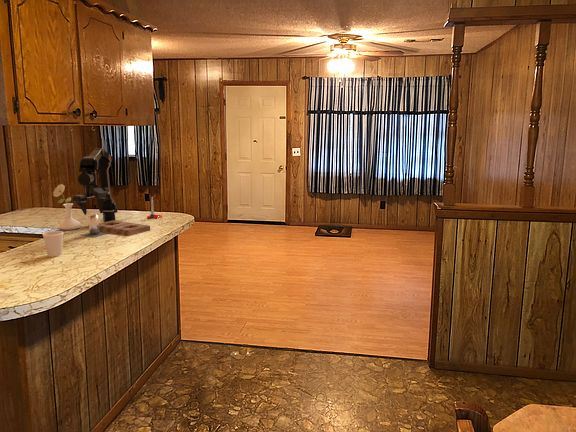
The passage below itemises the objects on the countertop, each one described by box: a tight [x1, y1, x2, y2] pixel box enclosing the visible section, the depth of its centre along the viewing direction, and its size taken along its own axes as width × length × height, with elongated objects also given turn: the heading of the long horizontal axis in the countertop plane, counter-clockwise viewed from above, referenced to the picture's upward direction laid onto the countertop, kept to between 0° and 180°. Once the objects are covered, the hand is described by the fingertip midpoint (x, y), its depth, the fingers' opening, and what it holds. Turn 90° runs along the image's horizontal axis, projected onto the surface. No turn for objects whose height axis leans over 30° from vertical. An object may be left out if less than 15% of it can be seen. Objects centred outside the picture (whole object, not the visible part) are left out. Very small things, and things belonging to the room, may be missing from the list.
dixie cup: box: [41, 230, 64, 258], centre depth 211 cm, size 8×8×10 cm
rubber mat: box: [79, 231, 111, 239], centre depth 249 cm, size 11×11×1 cm
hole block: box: [99, 219, 151, 237], centre depth 259 cm, size 28×14×3 cm, turn 61°
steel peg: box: [87, 213, 101, 235], centre depth 248 cm, size 5×5×10 cm
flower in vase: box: [52, 183, 82, 231], centre depth 259 cm, size 13×11×25 cm
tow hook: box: [146, 197, 163, 219], centre depth 294 cm, size 8×13×9 cm
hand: (93, 213), depth 247 cm, fingers open, 9 cm apart
